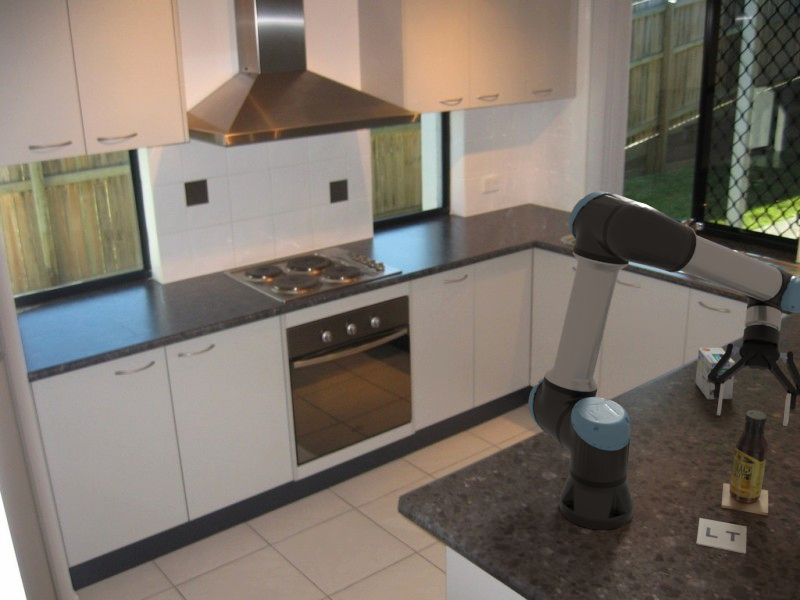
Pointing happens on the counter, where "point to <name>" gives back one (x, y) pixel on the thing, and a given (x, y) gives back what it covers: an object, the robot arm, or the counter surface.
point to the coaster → (755, 507)
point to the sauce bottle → (749, 459)
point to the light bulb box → (705, 366)
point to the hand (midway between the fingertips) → (751, 418)
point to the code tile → (722, 535)
